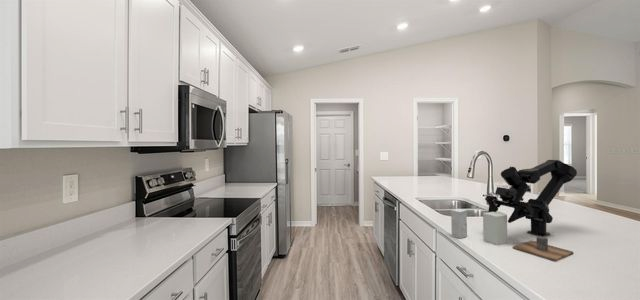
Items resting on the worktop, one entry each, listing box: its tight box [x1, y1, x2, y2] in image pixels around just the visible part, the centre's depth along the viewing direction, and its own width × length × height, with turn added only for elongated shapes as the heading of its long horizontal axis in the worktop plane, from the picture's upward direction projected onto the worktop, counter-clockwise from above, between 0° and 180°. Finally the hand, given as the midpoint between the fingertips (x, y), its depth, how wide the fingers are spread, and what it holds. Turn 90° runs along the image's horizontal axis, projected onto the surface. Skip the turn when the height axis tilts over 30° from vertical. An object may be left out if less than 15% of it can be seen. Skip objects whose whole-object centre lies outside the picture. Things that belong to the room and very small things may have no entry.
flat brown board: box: [512, 235, 574, 262], centre depth 105 cm, size 14×14×5 cm
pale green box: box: [482, 211, 508, 246], centre depth 116 cm, size 6×6×12 cm
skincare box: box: [450, 208, 468, 239], centre depth 124 cm, size 6×4×12 cm
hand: (498, 219), depth 117 cm, fingers open, 9 cm apart
